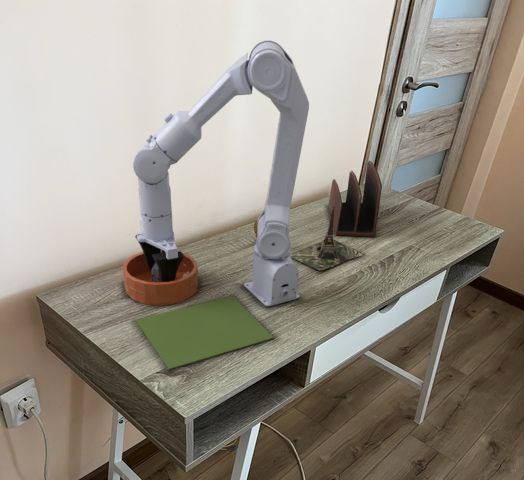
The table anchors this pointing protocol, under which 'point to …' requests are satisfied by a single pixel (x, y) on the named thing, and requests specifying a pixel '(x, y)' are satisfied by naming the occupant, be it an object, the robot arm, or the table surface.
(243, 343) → the cloth
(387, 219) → the table surface
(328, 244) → the eiffel tower figurine
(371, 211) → the letter holder
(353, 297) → the table surface
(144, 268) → the pot
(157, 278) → the mini dv tape
